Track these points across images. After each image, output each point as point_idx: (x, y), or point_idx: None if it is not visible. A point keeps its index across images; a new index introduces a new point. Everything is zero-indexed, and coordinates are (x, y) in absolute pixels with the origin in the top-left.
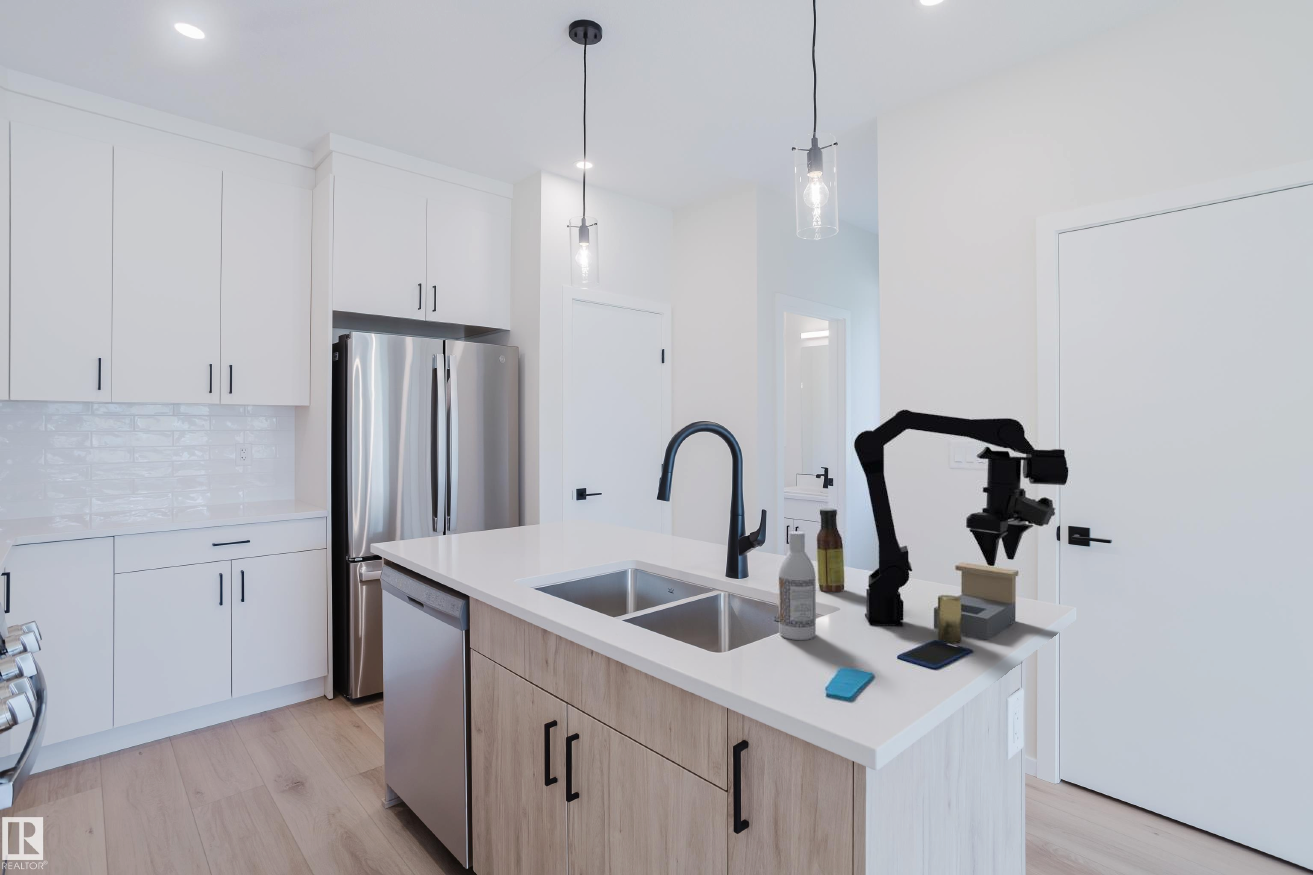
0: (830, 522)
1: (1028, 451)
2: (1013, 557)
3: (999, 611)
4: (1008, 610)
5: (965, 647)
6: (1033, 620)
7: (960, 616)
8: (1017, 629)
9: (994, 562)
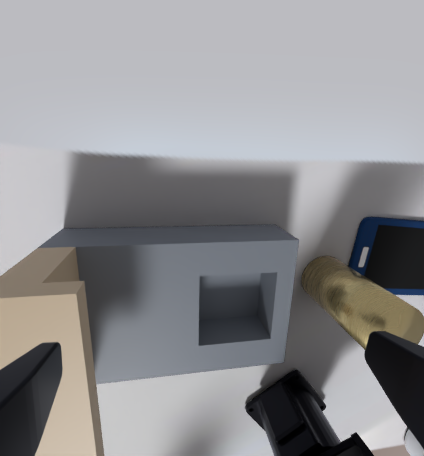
0: None
1: None
2: (50, 349)
3: (201, 242)
4: (118, 240)
5: (362, 234)
6: (9, 193)
7: (364, 281)
8: (141, 199)
9: (401, 340)
